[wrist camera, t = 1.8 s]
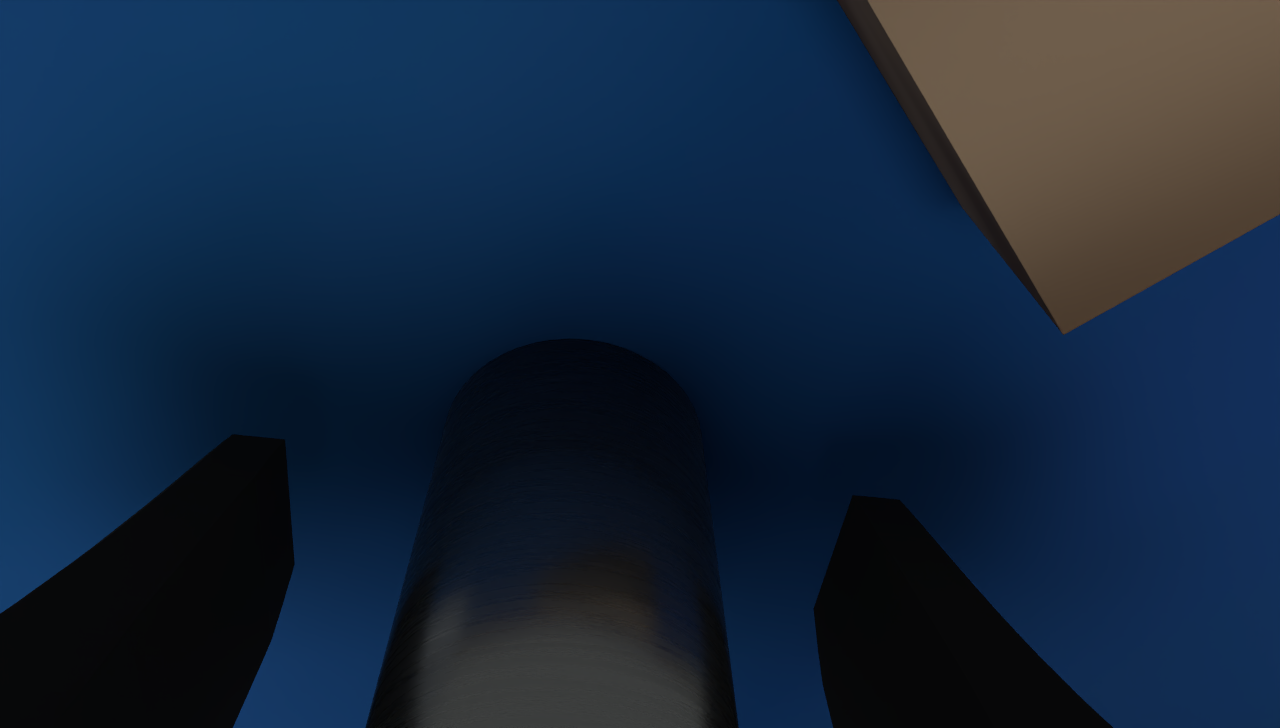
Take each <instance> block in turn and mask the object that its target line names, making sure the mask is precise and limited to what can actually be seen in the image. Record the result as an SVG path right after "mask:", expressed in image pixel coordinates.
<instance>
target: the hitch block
mask: <svg viewBox="0 0 1280 728" xmlns="http://www.w3.org/2000/svg"><path fill="white" fill-rule="evenodd" d="M837 1H838V2H839V4H840V6H841V7H842V9H843V11H844V12H845V14H846V16H847V17H848V19H849V21H850V22H851V24H852V26H853V27H854V29H855V31H856V32H857V34H858V36H859V37H860V39H861V40H862V42H863V44H864V45H865V47H866V49H867V50H868V52H869V54H870V55H871V57H872V59H873V60H874V62H875V64H876V65H877V67H878V69H879V70H880V72H881V74H882V75H883V77H884V79H885V80H886V82H887V84H888V85H889V87H890V89H891V90H892V92H893V94H894V95H895V97H896V99H897V100H898V102H899V104H900V105H901V107H902V108H903V110H904V112H905V113H906V115H907V117H908V118H909V120H910V122H911V123H912V125H913V127H914V128H915V130H916V132H917V133H918V135H919V137H920V138H921V140H922V142H923V143H924V145H925V147H926V148H927V150H928V152H929V153H930V155H931V157H932V158H933V160H934V162H935V163H936V165H937V167H938V168H939V170H940V172H941V173H942V175H943V177H944V178H945V180H946V181H947V183H948V185H949V186H950V188H951V190H952V191H953V193H954V195H955V196H956V198H957V200H958V201H959V203H960V205H961V206H962V208H963V209H964V210H965V212H966V213H967V214H968V215H969V217H970V218H971V219H972V220H973V222H974V223H975V224H976V225H977V227H978V228H979V229H980V231H981V232H982V233H983V234H984V236H985V237H986V238H987V239H988V241H989V242H990V243H991V244H992V246H993V247H994V248H995V249H996V251H997V252H998V253H999V254H1000V256H1001V257H1002V258H1003V259H1004V261H1005V262H1006V263H1007V265H1008V266H1009V267H1010V268H1011V270H1012V271H1013V272H1014V273H1015V275H1016V276H1017V277H1018V278H1019V280H1020V281H1021V282H1022V283H1023V285H1024V286H1025V287H1026V288H1027V290H1028V291H1029V292H1030V293H1031V295H1032V296H1033V297H1034V298H1035V300H1036V301H1037V302H1038V304H1039V305H1040V306H1041V307H1042V309H1043V310H1044V311H1045V312H1046V314H1047V315H1048V316H1049V317H1050V319H1051V320H1052V321H1053V322H1054V324H1055V325H1056V326H1057V327H1058V329H1059V330H1060V331H1061V332H1062V334H1063V335H1064V334H1066V333H1068V332H1069V331H1071V330H1073V329H1075V328H1077V327H1078V326H1080V325H1082V324H1084V323H1086V322H1087V321H1089V320H1091V319H1093V318H1094V317H1096V316H1098V315H1100V314H1102V313H1103V312H1105V311H1107V310H1109V309H1111V308H1112V307H1114V306H1116V305H1118V304H1120V303H1121V302H1123V301H1125V300H1127V299H1128V298H1130V297H1132V296H1134V295H1136V294H1137V293H1139V292H1141V291H1143V290H1145V289H1146V288H1148V287H1150V286H1152V285H1154V284H1155V283H1157V282H1159V281H1161V280H1163V279H1164V278H1166V277H1168V276H1170V275H1171V274H1173V273H1175V272H1177V271H1179V270H1180V269H1182V268H1184V267H1186V266H1188V265H1189V264H1191V263H1193V262H1195V261H1197V260H1198V259H1200V258H1202V257H1204V256H1206V255H1207V254H1209V253H1211V252H1213V251H1214V250H1216V249H1218V248H1220V247H1222V246H1223V245H1225V244H1227V243H1229V242H1231V241H1232V240H1234V239H1236V238H1238V237H1240V236H1241V235H1243V234H1245V233H1247V232H1248V231H1250V230H1252V229H1254V228H1256V227H1257V226H1259V225H1261V224H1263V223H1265V222H1266V221H1268V220H1270V219H1272V218H1274V217H1275V216H1277V215H1279V214H1280V0H837Z"/></svg>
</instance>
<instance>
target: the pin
mask: <svg viewBox="0 0 1280 728" xmlns="http://www.w3.org/2000/svg"><path fill="white" fill-rule="evenodd" d="M366 728H739V727H738V719H737V711H736V703H735V695H734V687H733V679H732V672H731V664H730V656H729V648H728V640H727V632H726V624H725V616H724V609H723V601H722V593H721V585H720V577H719V569H718V561H717V554H716V546H715V538H714V530H713V522H712V514H711V506H710V499H709V491H708V483H707V475H706V467H705V459H704V451H703V443H702V436H701V430H700V425H699V421H698V418H697V415H696V413H695V410H694V408H693V406H692V404H691V402H690V400H689V399H688V397H687V395H686V394H685V393H684V391H683V390H682V389H681V387H680V386H679V385H678V384H677V383H676V382H675V381H674V380H673V379H672V378H671V377H670V376H669V375H668V374H667V373H666V372H665V371H663V370H662V369H661V368H659V367H658V366H657V365H655V364H654V363H652V362H650V361H649V360H647V359H645V358H643V357H642V356H640V355H638V354H636V353H633V352H631V351H628V350H626V349H624V348H620V347H617V346H613V345H610V344H606V343H601V342H595V341H589V340H573V339H567V340H551V341H545V342H539V343H534V344H530V345H527V346H524V347H520V348H517V349H515V350H512V351H510V352H508V353H506V354H503V355H501V356H499V357H498V358H496V359H494V360H493V361H491V362H489V363H488V364H486V365H485V366H484V367H483V368H481V369H480V370H479V371H477V372H476V373H475V374H474V375H473V376H472V377H471V378H470V379H469V380H468V381H467V382H466V383H465V385H464V386H463V387H462V389H461V390H460V392H459V393H458V395H457V396H456V398H455V400H454V402H453V404H452V406H451V408H450V410H449V414H448V417H447V420H446V424H445V428H444V432H443V435H442V439H441V443H440V447H439V451H438V454H437V458H436V462H435V466H434V470H433V473H432V477H431V481H430V485H429V489H428V492H427V496H426V500H425V504H424V508H423V511H422V515H421V519H420V523H419V526H418V530H417V534H416V538H415V542H414V545H413V549H412V553H411V557H410V561H409V564H408V568H407V572H406V576H405V580H404V583H403V587H402V591H401V595H400V599H399V602H398V606H397V610H396V614H395V618H394V621H393V625H392V629H391V633H390V637H389V640H388V644H387V648H386V652H385V656H384V659H383V663H382V667H381V671H380V675H379V678H378V682H377V686H376V690H375V694H374V697H373V701H372V705H371V709H370V713H369V716H368V720H367V724H366Z"/></svg>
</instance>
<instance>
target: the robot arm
mask: <svg viewBox="0 0 1280 728" xmlns="http://www.w3.org/2000/svg"><path fill="white" fill-rule="evenodd" d="M293 568H294V551H293V538H292V525H291V512H290V499H289V486H288V473H287V460H286V447H285V440H284V439H274V438H264V437H254V436H244V435H231V436H230V437H229V438H227V439H226V440H225V441H223V442H222V443H221V444H220V445H218V446H217V447H216V448H215V449H213V450H212V451H211V452H210V453H208V454H207V455H206V456H205V457H204V458H202V459H201V460H200V461H199V462H198V463H196V464H195V465H194V466H193V467H192V468H190V469H189V470H188V471H187V472H186V473H184V474H183V475H182V476H181V477H180V478H178V479H177V480H176V481H175V482H174V483H172V484H171V485H170V486H169V487H167V488H166V489H165V490H164V491H163V492H161V493H160V494H159V495H158V496H157V497H155V498H154V499H153V500H152V501H150V502H149V503H148V504H147V505H146V506H144V507H143V508H142V509H141V510H139V511H138V512H137V513H136V514H134V515H133V516H132V517H130V518H129V519H128V520H127V521H125V522H124V523H123V524H122V525H120V526H119V527H118V528H116V529H115V530H114V531H113V532H111V533H110V534H109V535H108V536H106V537H105V538H104V539H103V540H101V541H100V542H99V543H97V544H96V545H95V546H94V547H92V548H91V549H90V550H88V551H87V552H86V553H84V554H83V555H82V556H80V557H79V558H78V559H76V560H75V561H74V562H72V563H71V564H69V565H68V566H67V567H65V568H64V569H63V570H61V571H60V572H58V573H57V574H56V575H54V576H53V577H51V578H50V579H49V580H47V581H46V582H44V583H43V584H42V585H40V586H39V587H38V588H36V589H35V590H33V591H32V592H31V593H29V594H28V595H26V596H25V597H24V598H22V599H21V600H19V601H18V602H17V603H15V604H14V605H12V606H11V607H9V608H8V609H6V610H5V611H3V612H2V613H0V728H233V726H234V724H235V721H236V719H237V717H238V715H239V712H240V710H241V708H242V706H243V704H244V701H245V699H246V697H247V695H248V692H249V690H250V688H251V686H252V683H253V681H254V679H255V677H256V674H257V672H258V670H259V667H260V665H261V663H262V661H263V658H264V656H265V654H266V651H267V649H268V647H269V645H270V642H271V640H272V637H273V633H274V630H275V627H276V624H277V621H278V618H279V614H280V611H281V608H282V605H283V602H284V598H285V595H286V591H287V588H288V585H289V581H290V578H291V574H292V571H293ZM814 616H815V625H816V635H817V644H818V653H819V660H820V667H821V675H822V682H823V687H824V691H825V696H826V700H827V704H828V708H829V712H830V716H831V720H832V724H833V728H1113V727H1112V726H1111V725H1110V724H1109V723H1107V722H1106V721H1105V720H1104V719H1103V718H1102V717H1101V716H1100V715H1099V714H1098V713H1097V712H1096V711H1094V710H1093V709H1092V708H1091V707H1090V706H1089V705H1088V704H1087V703H1086V702H1085V701H1084V700H1083V699H1082V698H1081V697H1080V696H1079V695H1078V694H1077V693H1076V692H1075V691H1074V690H1073V689H1072V688H1071V687H1070V686H1069V685H1068V684H1067V683H1066V682H1065V681H1064V680H1063V679H1062V678H1061V677H1060V676H1059V675H1058V674H1057V673H1056V672H1055V671H1054V670H1053V669H1052V668H1051V667H1050V666H1049V665H1048V664H1047V663H1046V662H1045V661H1043V660H1042V659H1041V658H1040V657H1039V655H1038V654H1037V653H1036V652H1035V651H1034V650H1033V649H1032V648H1031V647H1030V646H1029V645H1028V644H1027V643H1026V642H1025V641H1024V640H1023V639H1022V638H1021V637H1020V636H1019V634H1018V633H1017V632H1016V631H1015V630H1014V629H1013V628H1012V627H1011V626H1010V625H1009V624H1008V623H1007V622H1006V620H1005V619H1004V618H1003V617H1002V616H1001V615H1000V614H999V613H998V612H997V611H996V609H995V608H994V607H993V606H992V605H991V604H990V603H989V602H988V601H987V599H986V598H985V597H984V596H983V595H982V594H981V593H980V592H979V590H978V589H977V588H976V587H975V586H974V585H973V584H972V582H971V581H970V580H969V579H968V578H967V577H966V576H965V574H964V573H963V572H962V571H961V570H960V569H959V568H958V566H957V565H956V564H955V563H954V562H953V561H952V559H951V558H950V557H949V556H948V555H947V554H946V552H945V551H944V550H943V549H942V548H941V547H940V545H939V544H938V543H937V542H936V541H935V540H934V538H933V537H932V536H931V535H930V534H929V533H928V531H927V530H926V529H925V528H924V527H923V526H922V525H921V523H920V522H919V521H918V520H917V519H916V518H915V517H914V515H913V514H912V513H911V512H910V511H909V510H908V509H907V508H906V507H905V505H904V504H903V503H902V502H901V501H900V500H896V499H886V498H876V497H866V496H856V495H853V496H852V499H851V502H850V505H849V508H848V510H847V513H846V516H845V519H844V522H843V525H842V528H841V531H840V534H839V537H838V539H837V542H836V545H835V548H834V551H833V554H832V557H831V560H830V563H829V566H828V569H827V571H826V574H825V577H824V580H823V583H822V586H821V589H820V592H819V595H818V598H817V600H816V603H815V606H814Z"/></svg>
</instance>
